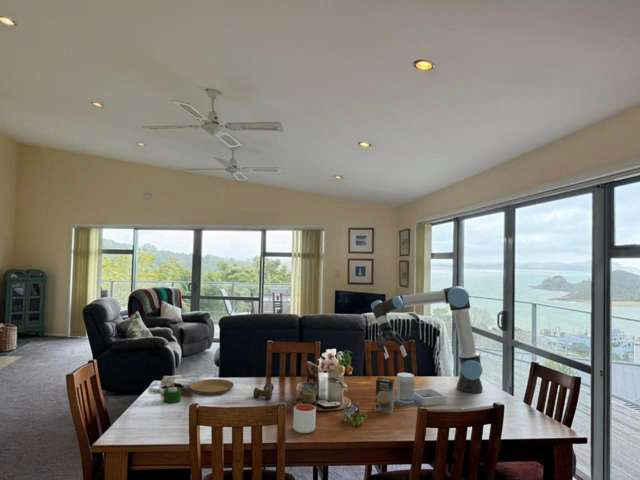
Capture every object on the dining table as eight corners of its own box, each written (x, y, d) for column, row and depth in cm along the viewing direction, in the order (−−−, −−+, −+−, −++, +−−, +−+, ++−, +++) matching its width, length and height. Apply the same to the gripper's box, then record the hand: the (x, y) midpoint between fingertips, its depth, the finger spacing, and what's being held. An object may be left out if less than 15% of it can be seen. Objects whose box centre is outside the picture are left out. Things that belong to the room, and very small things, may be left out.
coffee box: (374, 411, 223) (375, 379, 224) (376, 407, 229) (377, 376, 230) (392, 414, 220) (393, 382, 221) (394, 409, 226) (395, 379, 227)
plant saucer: (181, 391, 245) (181, 385, 245) (213, 381, 265) (213, 376, 265) (210, 400, 231) (211, 394, 232) (242, 389, 251) (242, 384, 252)
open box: (430, 394, 254) (430, 388, 254) (446, 403, 240) (446, 396, 240) (408, 396, 249) (408, 389, 249) (423, 405, 235) (423, 398, 235)
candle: (182, 402, 226) (182, 383, 226) (165, 404, 222) (166, 385, 222) (178, 397, 233) (179, 379, 234) (162, 399, 229) (163, 380, 229)
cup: (292, 425, 201) (293, 403, 201) (314, 425, 202) (315, 403, 202) (293, 434, 191) (294, 411, 192) (315, 434, 192) (316, 411, 192)
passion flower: (345, 433, 208) (340, 407, 215) (368, 428, 209) (362, 403, 216) (347, 427, 198) (341, 401, 205) (370, 423, 200) (363, 397, 207)
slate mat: (409, 397, 247) (409, 397, 247) (420, 404, 236) (420, 404, 236) (390, 399, 243) (390, 398, 243) (401, 406, 232) (401, 406, 232)
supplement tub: (417, 402, 238) (418, 375, 239) (405, 405, 233) (405, 378, 233) (405, 397, 246) (405, 371, 247) (392, 400, 241) (393, 373, 241)
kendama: (277, 392, 250) (268, 402, 230) (261, 391, 252) (250, 401, 232) (277, 382, 250) (268, 391, 231) (261, 381, 252) (250, 390, 232)
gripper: (396, 326, 276) (408, 357, 264) (364, 328, 263) (376, 361, 252) (403, 320, 271) (415, 352, 259) (370, 322, 258) (382, 355, 247)
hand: (396, 357), depth 255 cm, fingers open, 13 cm apart
